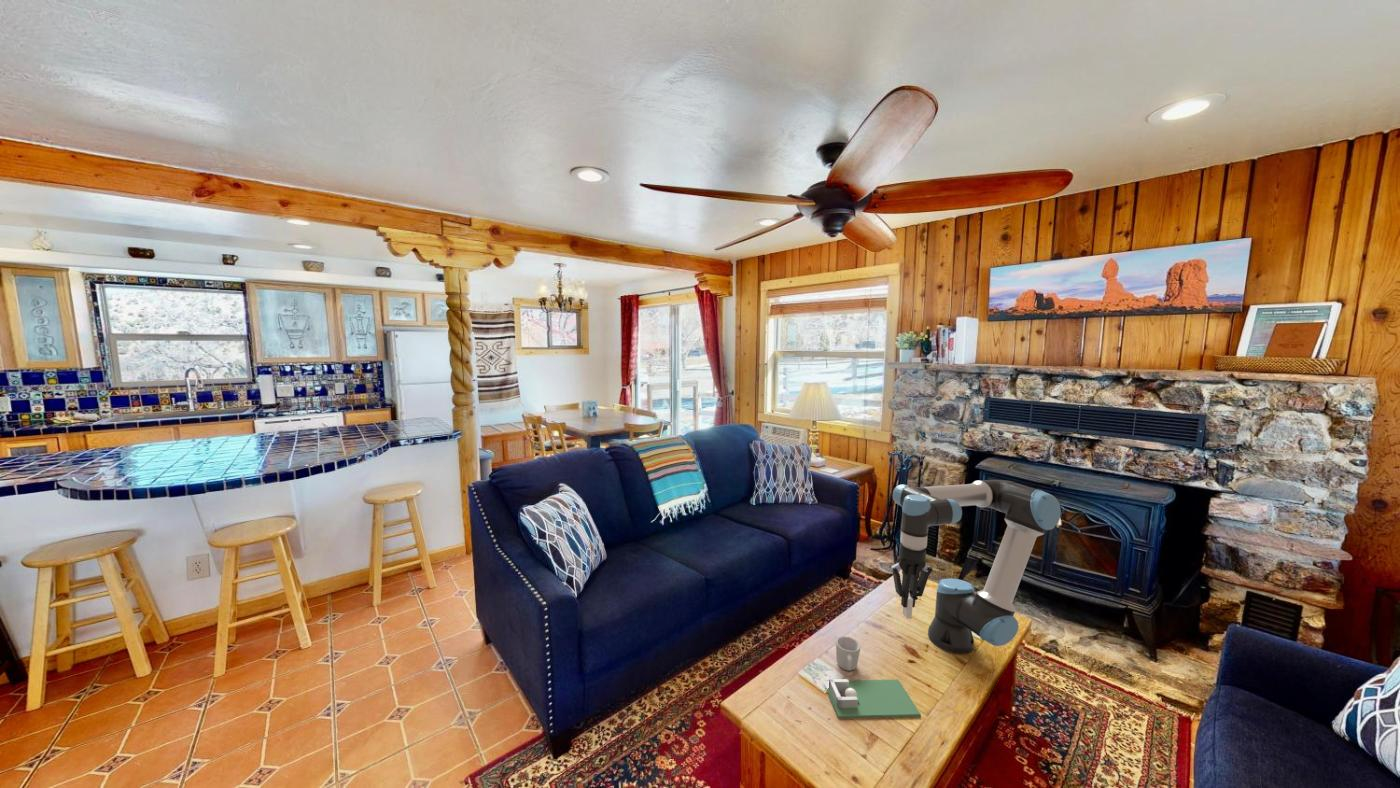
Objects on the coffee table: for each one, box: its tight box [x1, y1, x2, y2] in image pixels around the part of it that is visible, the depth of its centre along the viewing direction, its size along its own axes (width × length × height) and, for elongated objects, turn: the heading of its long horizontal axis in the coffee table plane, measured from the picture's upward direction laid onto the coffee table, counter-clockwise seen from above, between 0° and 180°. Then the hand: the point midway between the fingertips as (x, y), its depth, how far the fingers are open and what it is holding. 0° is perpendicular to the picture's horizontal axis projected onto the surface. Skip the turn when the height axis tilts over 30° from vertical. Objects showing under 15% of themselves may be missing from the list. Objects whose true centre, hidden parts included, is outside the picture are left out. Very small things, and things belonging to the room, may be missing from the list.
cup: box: [835, 635, 861, 671], centre depth 155 cm, size 11×8×8 cm
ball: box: [844, 688, 857, 697], centre depth 142 cm, size 4×4×4 cm
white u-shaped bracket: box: [828, 678, 858, 708], centre depth 142 cm, size 6×8×4 cm
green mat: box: [826, 679, 922, 719], centre depth 142 cm, size 25×14×1 cm, turn 93°
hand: (907, 615), depth 145 cm, fingers closed
